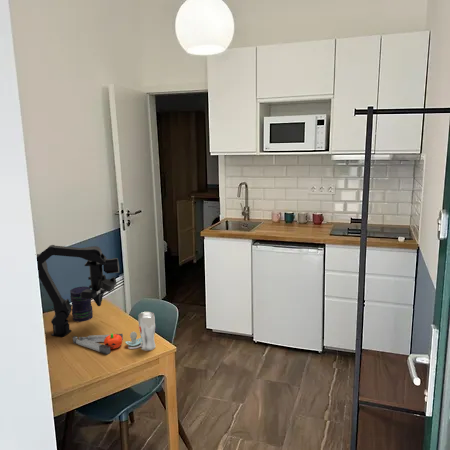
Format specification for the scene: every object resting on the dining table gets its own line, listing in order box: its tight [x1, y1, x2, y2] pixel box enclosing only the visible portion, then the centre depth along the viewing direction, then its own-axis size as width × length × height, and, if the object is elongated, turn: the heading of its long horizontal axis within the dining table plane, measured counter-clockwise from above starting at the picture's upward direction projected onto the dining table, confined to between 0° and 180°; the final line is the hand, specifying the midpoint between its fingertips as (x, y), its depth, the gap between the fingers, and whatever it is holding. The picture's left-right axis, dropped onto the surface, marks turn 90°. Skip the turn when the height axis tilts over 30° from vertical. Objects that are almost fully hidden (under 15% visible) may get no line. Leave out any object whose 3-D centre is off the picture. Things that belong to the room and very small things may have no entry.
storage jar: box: [69, 286, 94, 323], centre depth 208 cm, size 10×10×15 cm
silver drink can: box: [138, 311, 156, 352], centre depth 177 cm, size 7×7×15 cm
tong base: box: [72, 335, 111, 356], centre depth 178 cm, size 22×2×3 cm, turn 59°
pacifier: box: [125, 331, 142, 350], centre depth 179 cm, size 7×6×6 cm
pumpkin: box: [103, 333, 123, 350], centre depth 179 cm, size 7×8×6 cm
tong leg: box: [78, 333, 124, 343], centre depth 184 cm, size 19×2×3 cm, turn 93°
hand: (99, 305), depth 193 cm, fingers closed
